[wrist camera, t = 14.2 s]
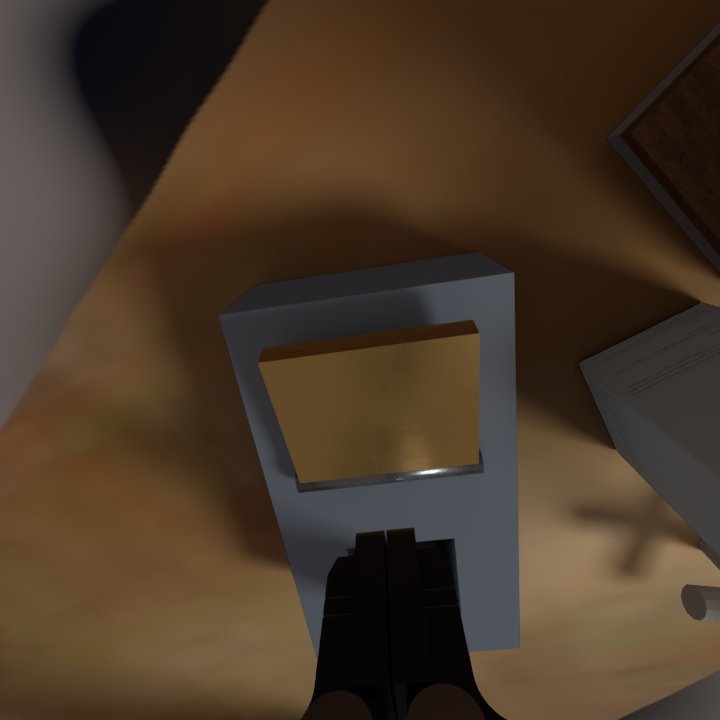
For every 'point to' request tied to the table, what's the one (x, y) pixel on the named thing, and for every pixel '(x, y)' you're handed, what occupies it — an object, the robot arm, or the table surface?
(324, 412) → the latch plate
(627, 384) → the supplement box
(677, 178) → the display case
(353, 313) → the pin block
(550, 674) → the table surface
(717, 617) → the pipe connector
